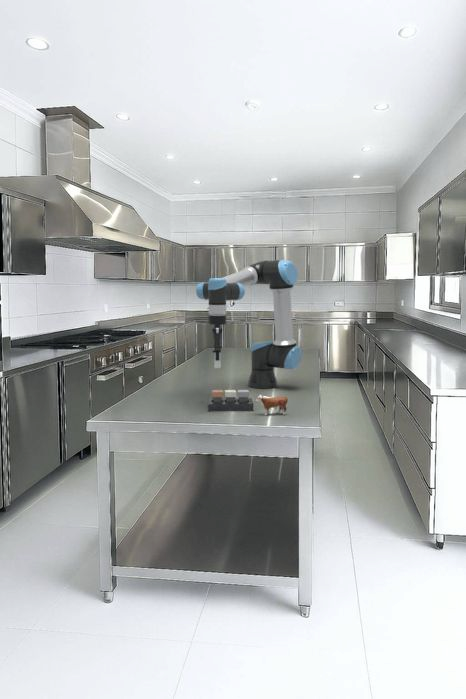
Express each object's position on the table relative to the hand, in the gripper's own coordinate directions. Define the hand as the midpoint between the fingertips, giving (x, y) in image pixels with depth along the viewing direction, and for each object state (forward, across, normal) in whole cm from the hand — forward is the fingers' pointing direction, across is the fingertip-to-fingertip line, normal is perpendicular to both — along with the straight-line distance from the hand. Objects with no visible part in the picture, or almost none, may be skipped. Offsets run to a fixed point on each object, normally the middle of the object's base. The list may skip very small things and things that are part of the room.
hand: (217, 365), depth 236 cm
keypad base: (+18, 0, +6) cm, 19 cm away
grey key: (+16, 0, +11) cm, 20 cm away
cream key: (+16, 0, +6) cm, 17 cm away
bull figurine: (+19, +12, +22) cm, 31 cm away
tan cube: (+16, 0, 0) cm, 16 cm away
